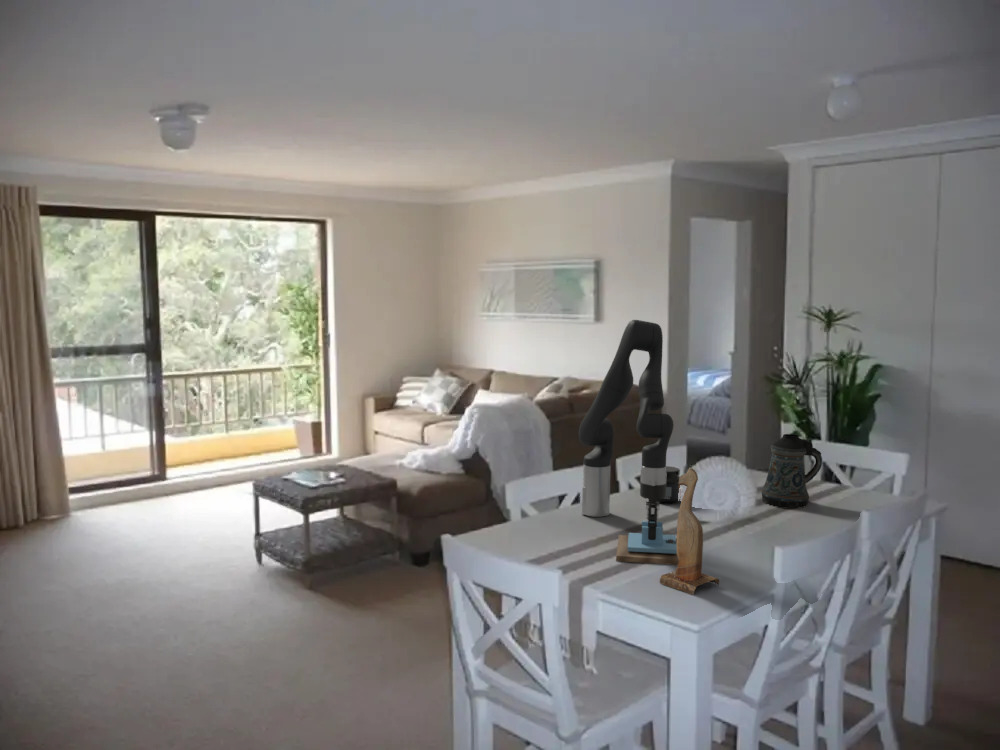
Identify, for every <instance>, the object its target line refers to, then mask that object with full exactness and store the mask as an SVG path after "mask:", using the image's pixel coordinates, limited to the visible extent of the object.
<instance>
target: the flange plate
mask: <svg viewBox="0 0 1000 750" xmlns="http://www.w3.org/2000/svg"><path fill="white" fill-rule="evenodd" d="M650 523H655V522H651V521H650ZM663 523H664V522H663V521H657V527H656V539H655V540H649V539H648V520H642V521H641V532H628V535H627V536H628V551H633V552H652V553H671V554H677V545H676V538H677V535H676V534H664V533H663V532H664V527H663ZM668 539H672V540H674V544H671V543H668Z"/></svg>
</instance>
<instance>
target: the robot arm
mask: <svg viewBox="0 0 1000 750" xmlns="http://www.w3.org/2000/svg"><path fill="white" fill-rule="evenodd" d="M663 342H664V341H663V330H662V327H661V325H659V324H658V323H655V322H652V321H645V320H639V319H632V320H629V322H628V323H627V324H626V327H624V331H623V333H622V337H621V339H620V341H619V344H618V348H617V350H616V353H615V356H614V357H613V360H612V362H611V365H610V367H609V368H608V371H607V373H606V375H605V377H604V379H603V381H602V383H601V386H600V388H599V391H598V393H597V394H596V397H595V398H594V400H593V402H592V404H591V406H590V407H589V410H588V411H587V412H586V414H585V416H584V417H583V419H582V420H581V423H580V425H579V429H578V439H579V441H580V443H581V444H582V445H583V446H587V447H594V448H593V450H591V451H590V452H588V453H586V454H585V455H584V457H583V465H582V466H583V467H582V468H583V471H582V472H583V474H582V475H583V478H582V480H583V482H582V484H583V485H582V493H581V495H582V496H581V497H582V498H581V501H582V502H581V505H582V506H581V515H582V516H583V515H584V516H588V517H593V518H594V517H595V518H597V517H598V518H600V517H607V516H609V515H610V511H611V509H610V508H611V507H610V506H611V505H610V503H611V463H612V462H611V461H612V458H613V454H614V453H613V451H614V439H615V431H614V430H615V429H614V425H613V423H612V421H611V420H610V419H609V418H607V417H608V416H609V415H611V413H613V412H614V411H616V409H618V408H619V407H620V406H621V405H622V404H623V403H625V401H626V400H627V398H628V396H629V394H630V392H631V390H632V387H633V385H634V376H633V371H632V367H631V364H630V363H631V362H630V357H631V355H632V352H633V351H635V350H637V351H641V352H647V353H648V355H649V356H648V357H649V360H648V364H647V365H646V367H645V368H644V370H643V372H642V373H641V375H640V377H639V381H638V395H639V411H638V412H639V413H638V415H637V416H638V418H637V420H636V427H635V428H636V432H637V434H638V435H639V436H640V437H641V438H647V439H649V438H651V439H652V438H653V439H655V438H656V439H657V438H658V439H657V441H656V442H655V443H653V444H652V443H651V444H647V445H645V446H643V448H642V449H641V469H640V478H639V479H640V481H639V483H640V485H639V487H640V489H639V495H640V496H641V498H644V499H648V501H647V500H645V501H646V502H645V510H646V520H647V521H648V539H649V540H655V539H656V527H657V522H658V520H659V511H660V504H661V503H660V502H657V499H663V498H665V497H666V478H667V473H666V466H667V454H668V453H667V452H668V446H669V444H670V443H669V442H670V440H671V436H672V433H673V432H674V419H673V418H672V416H671V415H669V414H667V413H651V412H655V411H659V410H660V409H662V408H663V407H664V405H665V399H664V398H665V397H664V391H663V383H662V381H663V380H662V369H663V368H662V366H663V345H664V344H663ZM650 521H651V522H655V523H650Z"/></svg>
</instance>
